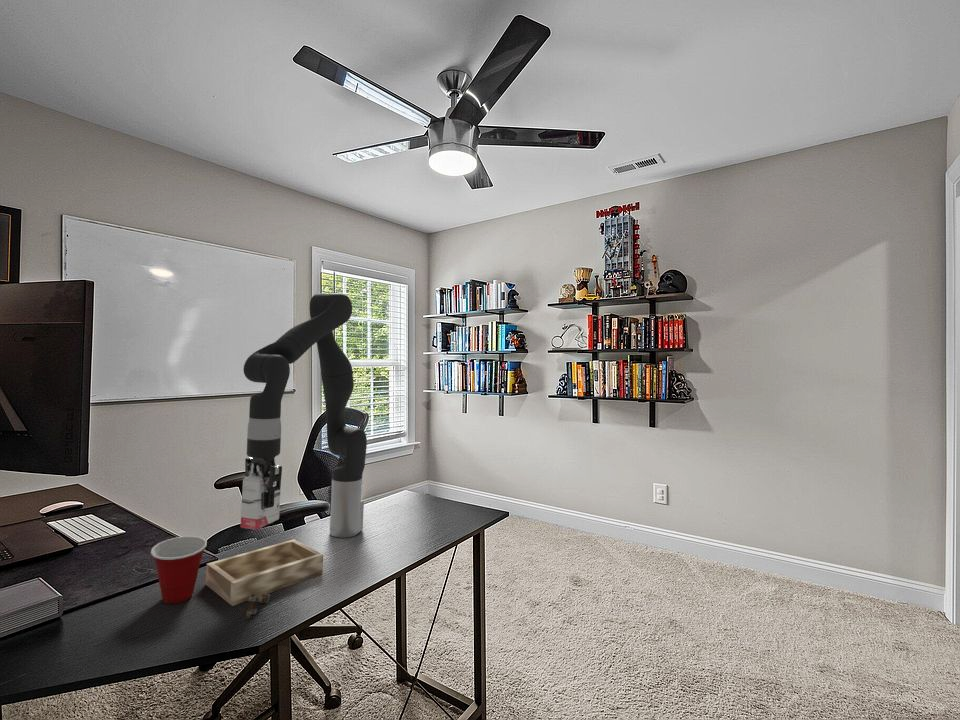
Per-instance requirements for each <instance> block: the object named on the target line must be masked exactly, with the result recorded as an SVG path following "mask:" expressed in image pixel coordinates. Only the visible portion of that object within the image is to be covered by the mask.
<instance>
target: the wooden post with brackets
mask: <svg viewBox="0 0 960 720" xmlns="http://www.w3.org/2000/svg"><path fill="white" fill-rule="evenodd" d="M270 596H271V593H268V594H262V595H261V596H260V597H255V595H254V594H252V595H251V596H249V600H248V601H247V602H249V605H248V609H247V610H246V619H251V615H252V616H255V615H257V612H258V609H256V608H253V606H254V605H255V603H258V602H259V603H261V604H269V603H270V601H269V600H270Z"/></svg>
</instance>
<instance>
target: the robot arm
mask: <svg viewBox="0 0 960 720" xmlns="http://www.w3.org/2000/svg"><path fill="white" fill-rule="evenodd" d="M308 308H309V317H310V319H308V320H306V321H304V322H301V323H299V324H297V325H295V326H293V327H292V328H290V329H288V330H287V331H286V332H285V333H284V334H283V335H281V336H280V337H279V338H278V339H277V340H275V341H273V343H269V344H267V345H265V346H264V347H262V348H260V349H258V350H256V351H254V352H252V354H251V355H249V356H248V357H247V359H246V360H245V362H244V364H243V375H244V377H246V379H247V380H249V381H250V382H253V383H258V384H259V383H261V384H265V387H264V388H263V391H262V392H257V393H253V394H252V395H251V396H250V399H249V412H248V413H249V414H248V415H249V416H248V417H249V419H248V424H247V434H246V436H247V439H246V455H247V457H246V458H245V459H244V461H245V462H244V466H245V470H244V471H245V472H244V478H245V477H248V476H251V475H254V474H255V475H256V476H259V478H260V479H262V480H263V483H264V491H265V492H264V507H265V508H270V507H273V506H274V493H275V491H277V490H280V487H282V474H283V473H282V472H283V466H282V464H281V465H276V457H278V456H279V455H280V454H281V442H282V421H281V417H282V416H281V415H282V414H281V413H282V400H283V397H284V395H285V390H286V388H287V384H288V381H289V378H290V374H291V373H290V372H291V370H290V369H291V368H290V365H291V364H294V363H295V362H296V361H297V360H299V359H300V358H301V357H302V356H303V355H304V354H306V352H307V351H309V349H310V348H311V347H312V346H314V345H315V344H316V347H317V353H318V359H319V366H320V367H319V369H320V375H321V385H322V389H323V395H324V405H325V412H326V413H325V415H326V442H327V446H328V449H329V451H330V453H331V454H333V455H335V456H339V457H345V459H344V465H341V466H337V467H334V468H333V470H332V472H331V493H330V495H331V497H330V499H331V500H330V517H329V535H330V536H332V537H335V538H352V537H355V536H357V534H358V533H359V532H360V531H362V530H363V531H364V527H363V526H364V509H365V508H364V507H365V504H364V503H365V502H364V501H363V500H362V495H363V494H362V491H363V487H362V486H363V472H364V470H365V467H366V456H367V448H368V447H367V444H368V442H367V441H368V440H367V439H368V437H367V435H366V432H365V431H364V430H363V428H358V427H351V426H347V425H346V418H345V415H346V414H345V411H346V406H347V404H348V403H349V400H350V398H351V395H352V394H353V390H354V387H355V384H354V383H355V382H354V373H353V367H352V363H351V361H350V360H349V359H348V357H347V355H346V353H345V352H344V351H343V350H342V348H341V347H340V345H339V344H338V342H337V341H336V338H335V336H334V331H335V330H336V329H338V328H339V327H341V326H342V325H344V324H345V323H347V322H348V321H349V320H350V319H351V316H352V314H353V305H352V301H351V299H350V297H349V296H348V295H346V294H344V293H340V292H332V293H331V292H326V293H325V292H324V293H315V294H314V295H312V297H311V298H310V300H309V307H308ZM267 477H269V479H265V478H267ZM275 481H277V482H276V483H275ZM267 483H269V484H267ZM280 491H281V490H280ZM363 531H362V532H363ZM360 533H361V532H360ZM360 533H359V534H360ZM359 534H358V535H359Z"/></svg>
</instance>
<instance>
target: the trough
mask: <svg viewBox="0 0 960 720" xmlns="http://www.w3.org/2000/svg"><path fill="white" fill-rule="evenodd" d="M323 568H324V553H321V552H319V551H318V550H315V549H313V548H312V547H309V545H306V544H304V543H302V542H300V541H298V540H296V539H294V538H293V539H290V540H287V541H283V542H279V543H276V544H272V545H268V546H265V547H262V548H258V549H254V550H251V551H247V552H244V553H240V554H237V555H232V556H229V557H226V558H222V559H219V560H215V561H211V562H208V563H206V570H205V572H206V573H205V585H206V586H207V587H208V588H209V589H210V590H212V591H213V592H214V593H215V594H217V595H218V596H219V597H221V598H222V599H223V600H224V601H225V602H226V603H228V604H229V605H230V606H231V607H234V606H237V605H240V604H243V603H245V602H249V601H248V600H249V596H251V595H252V594H254V595H255V597H261V595H262V594H271V593H273V592H276V591H279V590H282V589H286V588H287V587H290V586H293V585H297V584H299V583H302V582H305V581H307V580H310V579H313V578H315V577H318V576H321V575H323V572H324V571H323V570H324V569H323Z"/></svg>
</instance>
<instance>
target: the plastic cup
mask: <svg viewBox="0 0 960 720" xmlns="http://www.w3.org/2000/svg"><path fill="white" fill-rule="evenodd" d="M207 543H208V541H207V539H205V538H204V537H200V536H197V535H195V536H194V535H185V536H179V537H178V536H177V537H172V538H169V539H165V540H164V541H160V542H159V543H156V545H154V546H152V548H151V551H150V555H151V556H152V557H153V560H154V563H155V565H156V572H157V578H158V584H159V588H160V594H161V599H162V601H163V603H166V604H177V603H182V602H185V601H187V600H190V599H191V597H193V594H194V592H195V591H194V590H195V586H196V582H197V578H198V573H199V570H200V569H199V568H200V565H201V560H202V558H203V557H202V556H203V554H204V551H205V549H206V548H207Z"/></svg>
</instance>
